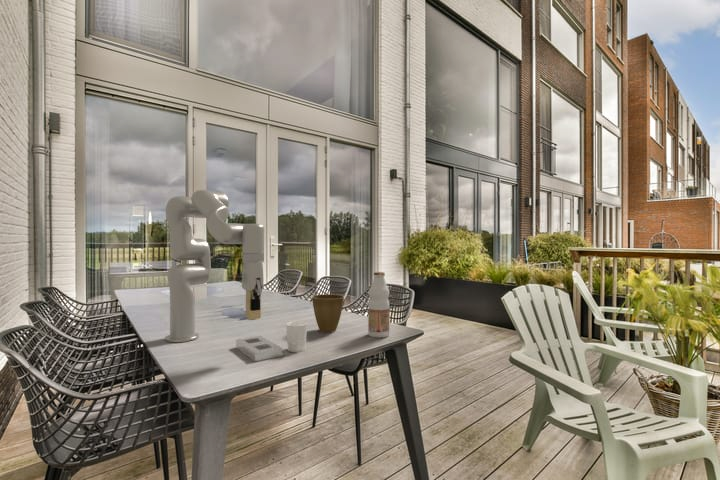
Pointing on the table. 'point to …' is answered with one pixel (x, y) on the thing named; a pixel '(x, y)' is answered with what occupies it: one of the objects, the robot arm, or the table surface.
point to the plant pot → (327, 311)
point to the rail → (258, 348)
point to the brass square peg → (249, 313)
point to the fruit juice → (378, 307)
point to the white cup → (296, 336)
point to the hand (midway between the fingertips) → (253, 308)
